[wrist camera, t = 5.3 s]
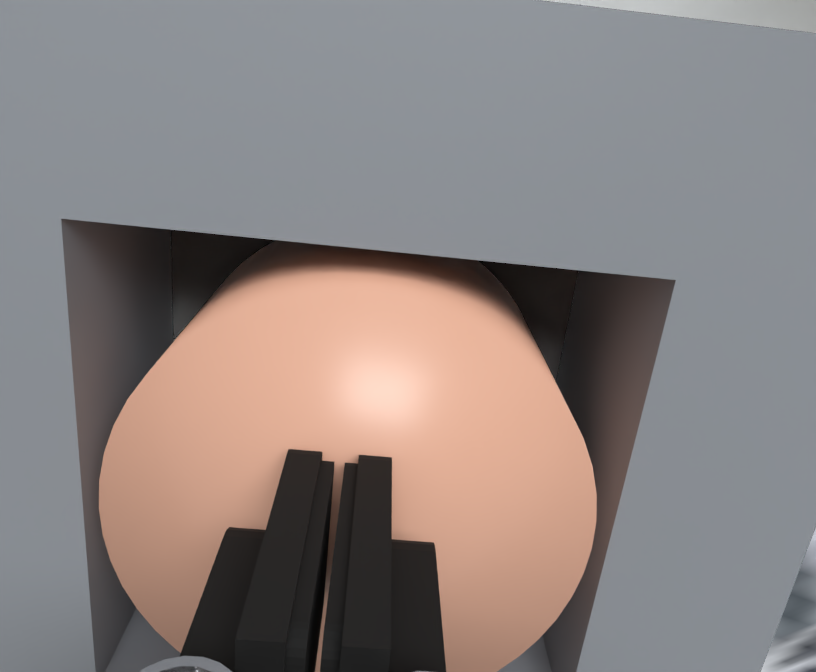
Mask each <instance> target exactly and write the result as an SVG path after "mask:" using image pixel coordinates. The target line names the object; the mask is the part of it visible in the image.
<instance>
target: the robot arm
mask: <svg viewBox="0 0 816 672" xmlns="http://www.w3.org/2000/svg"><path fill="white" fill-rule="evenodd" d="M333 478H334V462H333V461H322V452H321V451H309V450H296V449H288V452H287V455H286V459H285V462H284V466H283V470H282V473H281V477H280V480H279V484H278V487H277V491H276V495H275V498H274V502H273V505H272V509H271V512H270V516H269V520H268V523H267V527H266V530H261V529H248V528H235V527H229V528H228V529H227V530H226V532H225V534H224V536H223V539H222V542H221V544H220V547H219V550H218V553H217V555H216V558H215V561H214V564H213V566H212V569H211V572H210V574H209V577H208V580H207V583H206V585H205V588H204V591H203V594H202V596H201V599H200V602H199V605H198V607H197V610H196V613H195V615H194V618H193V621H192V624H191V626H190V629H189V632H188V635H187V637H186V640H185V643H184V645H183V648H182V651H181V654H180V656H179V657H175V658H169V659H164V660H162V661H159V662H157V663H155V664H152V665H150V666H148V667H145V668H144V669H143V670H141V671H140V672H315V667H316V660H317V652H318V645H319V637H320V629H321V622H322V614H323V605H324V594H325V581H326V568H327V555H328V542H329V529H330V517H331V504H332V491H333ZM320 672H446V663H445V652H444V640H443V629H442V617H441V606H440V594H439V583H438V571H437V560H436V550H435V544H434V542H421V541H408V540H395V539H392V457H382V456H370V455H359V460H358V463H345V466H344V474H343V482H342V490H341V498H340V506H339V514H338V522H337V530H336V538H335V546H334V554H333V561H332V569H331V577H330V585H329V593H328V601H327V609H326V617H325V626H324V634H323V644H322V654H321V665H320Z"/></svg>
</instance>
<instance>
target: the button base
mask: <svg viewBox="0 0 816 672" xmlns="http://www.w3.org/2000/svg"><path fill="white" fill-rule="evenodd" d="M171 230H180V231H190V232H200V233H210V234H220V235H230V236H240V237H250V238H260V239H270V240H280V241H290V242H300V243H310V244H320V245H330V246H340V247H350V248H360V249H370V250H380V251H390V252H400V253H410V254H420V255H430V256H440V257H450V258H460V259H470V260H480V261H490V262H500V263H510V264H520V265H530V266H540V267H550V268H560V269H570V270H578V275H577V280H576V285H575V290H574V295H573V300H572V305H571V310H570V315H569V320H568V325H567V330H566V335H565V340H564V345H563V350H562V355H561V360H560V365H559V370H558V375H557V380H556V384H557V386H558V388H559V390H560V392H561V394H562V396H563V398H564V400H565V402H566V404H567V406H568V408H569V410H570V412H571V414H572V416H573V418H574V420H575V422H576V424H577V426H578V428H579V430H580V432H581V434H582V436H583V438H584V441H585V444H586V447H587V450H588V453H589V457H590V460H591V463H592V466H593V473H594V479H595V486H596V493H597V515H596V527H595V533H594V539H593V545H592V550H591V553H590V556H589V559H588V562H587V565H586V568H585V571H584V574H583V576H582V578H581V580H580V582H579V584H578V586H577V588H576V590H575V592H574V594H573V596H572V598H571V599H570V601H569V602H568V604H567V605H566V607H565V608H564V609H563V611H562V612H561V614H560V615H559V617H558V618H557V620H556V621H555V622H554V623H553V624H552V625H551V626H550V627H549V628H548V630H547V631H546V632H545V633H544V634H543V635H542V636H541V637H540V639H538V640H537V641H536V642H535V643H534V644H533V645H532V646H530V647H529V648H528V649H527V650H526V651H525V652H524V653H522V654H521V655H520V656H519V657H518V658H516V659H515V660H513V661H512V662H510V663H509V664H507V665H506V666H504V667H503V668H501V669H500V670H498V671H497V672H761V669H762V667H763V664H764V662H765V659H766V656H767V654H768V651H769V648H770V646H771V643H772V641H773V638H774V635H775V633H776V630H777V627H778V625H779V622H780V620H781V617H782V614H783V612H784V609H785V606H786V604H787V601H788V599H789V596H790V593H791V591H792V588H793V585H794V583H795V580H796V578H797V575H798V572H799V570H800V567H801V564H802V562H803V559H804V557H805V554H806V551H807V549H808V546H809V543H810V541H811V538H812V536H813V533H814V530H815V528H816V33H811V32H802V31H794V30H785V29H777V28H769V27H760V26H752V25H743V24H735V23H727V22H718V21H710V20H701V19H693V18H684V17H676V16H668V15H659V14H651V13H642V12H634V11H626V10H617V9H609V8H600V7H592V6H583V5H575V4H567V3H558V2H550V1H541V0H0V672H140V671H141V670H143V669H144V668H145V667H148V666H150V665H152V664H155V663H157V662H159V661H162V660H164V659H169V658H175V657H179V656H180V654H181V653H180V652H179V651H177V650H176V649H175V648H174V647H173V646H172V645H171V644H169V643H168V642H167V641H166V640H165V639H164V638H163V637H162V636H161V635H160V634H159V633H157V632H156V631H155V630H154V628H153V627H152V626H151V625H150V624H149V623H148V621H147V620H146V619H145V618H144V617H143V615H142V614H141V613H140V612H139V611H138V610H137V608H136V607H135V605H134V603H133V602H132V600H131V599H130V597H129V596H128V594H127V593H126V591H125V590H124V588H123V587H122V585H121V582H120V580H119V578H118V576H117V574H116V572H115V570H114V568H113V565H112V563H111V561H110V558H109V554H108V551H107V548H106V544H105V541H104V538H103V534H102V527H101V520H100V513H99V478H100V473H101V467H102V461H103V456H104V451H105V448H106V445H107V443H108V440H109V437H110V434H111V431H112V428H113V425H114V423H115V422H116V420H117V418H118V416H119V414H120V412H121V410H122V409H123V407H124V405H125V403H126V401H127V399H128V398H129V396H130V395H131V394H132V393H133V391H134V390H135V389H136V387H137V386H138V385H139V383H140V382H141V381H142V379H143V378H144V377H145V375H146V374H147V373H148V372H149V371H150V369H151V368H152V367H153V366H154V365H155V363H156V362H157V361H158V360H159V359H160V357H161V356H162V355H163V354H164V353H165V351H166V350H167V349H168V348H169V346H170V345H171V344H172V343H173V312H172V258H171Z"/></svg>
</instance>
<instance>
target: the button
mask: <svg viewBox="0 0 816 672" xmlns="http://www.w3.org/2000/svg"><path fill="white" fill-rule="evenodd" d="M288 449H296V450H309V451H321V452H322V461H333V462H334V478H333V491H332V504H331V517H330V529H329V542H328V555H327V568H326V581H325V594H324V605H323V614H322V622H321V629H320V637H319V645H318V652H317V660H316V667H315V672H320V665H321V654H322V644H323V634H324V626H325V617H326V609H327V601H328V593H329V585H330V577H331V569H332V561H333V554H334V546H335V538H336V530H337V522H338V514H339V506H340V498H341V490H342V482H343V474H344V466H345V463H358V460H359V455H370V456H382V457H392V539H395V540H408V541H421V542H434V544H435V550H436V560H437V571H438V583H439V594H440V606H441V617H442V629H443V640H444V652H445V663H446V672H497V671H498V670H500V669H501V668H503V667H504V666H506V665H507V664H509V663H510V662H512V661H513V660H515V659H516V658H518V657H519V656H520V655H521V654H522V653H524V652H525V651H526V650H527V649H528V648H529V647H530V646H532V645H533V644H534V643H535V642H536V641H537V640H538V639H540V637H541V636H542V635H543V634H544V633H545V632H546V631H547V630H548V628H549V627H550V626H551V625H552V624H553V623H554V622H555V621H556V620H557V618H558V617H559V615H560V614H561V612H562V611H563V609H564V608H565V607H566V605H567V604H568V602H569V601H570V599H571V598H572V596H573V594H574V592H575V590H576V588H577V586H578V584H579V582H580V580H581V578H582V576H583V574H584V571H585V568H586V565H587V562H588V559H589V556H590V553H591V550H592V545H593V539H594V533H595V527H596V515H597V493H596V486H595V479H594V473H593V466H592V463H591V460H590V457H589V453H588V450H587V447H586V444H585V441H584V438H583V436H582V434H581V432H580V430H579V428H578V426H577V424H576V422H575V420H574V418H573V416H572V414H571V412H570V410H569V408H568V406H567V404H566V402H565V400H564V398H563V396H562V394H561V392H560V390H559V388H558V386H557V384H556V382H555V380H554V378H553V376H552V374H551V372H550V370H549V368H548V366H547V364H546V362H545V360H544V358H543V356H542V354H541V352H540V350H539V348H538V346H537V344H536V342H535V340H534V338H533V336H532V334H531V332H530V330H529V328H528V326H527V324H526V322H525V320H524V318H523V316H522V314H521V312H520V310H519V308H518V306H517V304H516V303H515V301H514V300H513V298H512V297H511V296H510V294H509V293H508V291H507V290H506V288H505V287H504V286H503V285H502V284H501V283H500V282H499V280H498V279H497V278H496V277H495V276H494V275H493V274H492V273H491V272H490V271H489V270H488V269H487V268H486V267H485V266H483V265H482V264H481V263H480V262H479V261H477V260H470V259H460V258H450V257H440V256H430V255H420V254H410V253H400V252H390V251H380V250H370V249H360V248H350V247H340V246H330V245H320V244H310V243H300V242H290V241H280V240H276V241H274V242H272V243H270V244H269V245H267V246H265V247H263V248H261V249H260V250H259V251H257V252H256V253H254V254H253V255H252V256H250V257H249V258H248V259H246V260H245V261H244V262H242V263H241V264H240V265H239V266H238V267H237V268H236V269H235V270H234V271H233V272H232V273H231V274H230V275H229V276H228V277H227V278H226V279H225V280H224V282H223V283H222V284H221V285H220V286H219V288H218V289H217V290H216V291H215V292H214V294H213V295H212V296H211V297H210V298H209V300H208V301H207V302H206V303H205V304H204V306H203V307H202V308H201V309H200V310H199V312H198V313H197V314H196V315H195V316H194V318H193V319H192V320H191V321H190V322H189V324H188V325H187V326H186V327H185V328H184V330H183V331H182V332H181V333H180V334H179V336H178V337H177V338H176V339H175V340H174V342H173V343H172V344H171V345H170V346H169V348H168V349H167V350H166V351H165V353H164V354H163V355H162V356H161V357H160V359H159V360H158V361H157V362H156V363H155V365H154V366H153V367H152V368H151V369H150V371H149V372H148V373H147V374H146V375H145V377H144V378H143V379H142V381H141V382H140V383H139V385H138V386H137V387H136V389H135V390H134V391H133V393H132V394H131V395H130V396H129V398H128V399H127V401H126V403H125V405H124V407H123V409H122V410H121V412H120V414H119V416H118V418H117V420H116V422H115V423H114V425H113V428H112V431H111V434H110V437H109V440H108V443H107V445H106V448H105V451H104V456H103V461H102V467H101V473H100V478H99V513H100V520H101V527H102V534H103V538H104V541H105V544H106V548H107V551H108V554H109V558H110V561H111V563H112V565H113V568H114V570H115V572H116V574H117V576H118V578H119V580H120V582H121V585H122V587H123V588H124V590H125V591H126V593H127V594H128V596H129V597H130V599H131V600H132V602H133V603H134V605H135V607H136V608H137V610H138V611H139V612H140V613H141V614H142V615H143V617H144V618H145V619H146V620H147V621H148V623H149V624H150V625H151V626H152V627H153V628H154V630H155V631H156V632H157V633H159V634H160V635H161V636H162V637H163V638H164V639H165V640H166V641H167V642H168V643H169V644H171V645H172V646H173V647H174V648H175V649H176V650H177V651H179V652H180V653H181V651H182V648H183V645H184V643H185V640H186V637H187V635H188V632H189V629H190V626H191V624H192V621H193V618H194V615H195V613H196V610H197V607H198V605H199V602H200V599H201V596H202V594H203V591H204V588H205V585H206V583H207V580H208V577H209V574H210V572H211V569H212V566H213V564H214V561H215V558H216V555H217V553H218V550H219V547H220V544H221V542H222V539H223V536H224V534H225V532H226V530H227V529H228V528H229V527H235V528H248V529H261V530H266V527H267V523H268V520H269V516H270V512H271V509H272V505H273V502H274V498H275V495H276V491H277V487H278V484H279V480H280V477H281V473H282V470H283V466H284V462H285V459H286V455H287V452H288Z"/></svg>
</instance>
